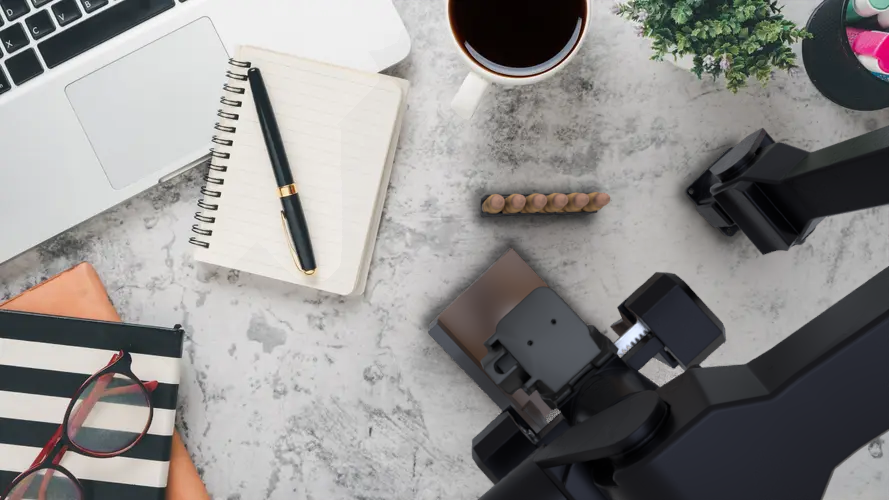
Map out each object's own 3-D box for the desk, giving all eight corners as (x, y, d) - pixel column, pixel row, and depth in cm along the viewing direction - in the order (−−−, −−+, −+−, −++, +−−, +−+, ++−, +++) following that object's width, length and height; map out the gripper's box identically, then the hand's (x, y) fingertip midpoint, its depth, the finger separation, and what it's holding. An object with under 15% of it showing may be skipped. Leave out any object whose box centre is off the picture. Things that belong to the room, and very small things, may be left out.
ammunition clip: (588, 196, 65) (619, 186, 53) (588, 214, 65) (619, 209, 53) (480, 198, 65) (487, 188, 53) (481, 216, 65) (488, 211, 53)
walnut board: (509, 247, 65) (516, 248, 59) (606, 349, 65) (623, 361, 59) (429, 323, 65) (427, 332, 59) (526, 424, 65) (534, 444, 59)
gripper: (649, 209, 38) (591, 217, 53) (411, 427, 38) (423, 371, 54) (779, 351, 38) (684, 318, 53) (540, 567, 38) (515, 471, 54)
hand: (573, 367), depth 54 cm, fingers open, 9 cm apart
